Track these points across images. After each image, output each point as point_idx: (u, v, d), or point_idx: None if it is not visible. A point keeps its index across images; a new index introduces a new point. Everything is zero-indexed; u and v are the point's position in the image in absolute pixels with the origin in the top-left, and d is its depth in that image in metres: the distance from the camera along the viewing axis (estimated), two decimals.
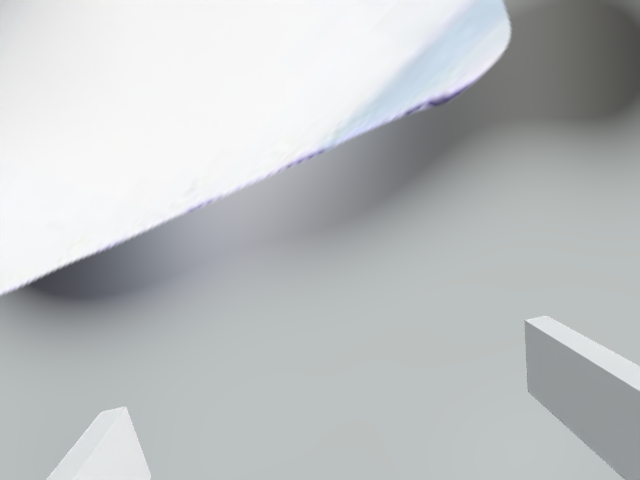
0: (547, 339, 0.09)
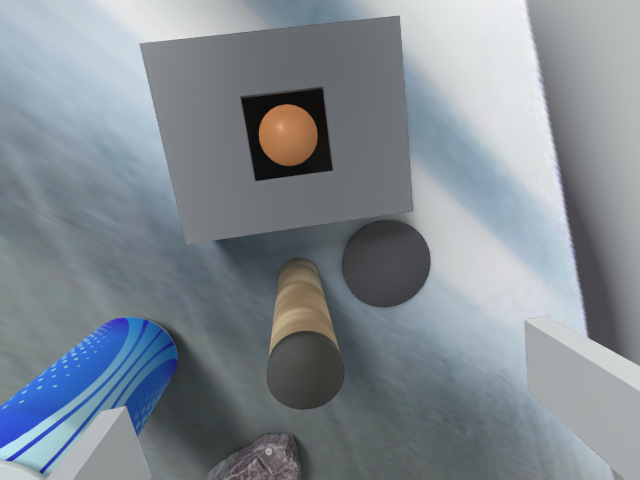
0: (547, 339, 0.09)
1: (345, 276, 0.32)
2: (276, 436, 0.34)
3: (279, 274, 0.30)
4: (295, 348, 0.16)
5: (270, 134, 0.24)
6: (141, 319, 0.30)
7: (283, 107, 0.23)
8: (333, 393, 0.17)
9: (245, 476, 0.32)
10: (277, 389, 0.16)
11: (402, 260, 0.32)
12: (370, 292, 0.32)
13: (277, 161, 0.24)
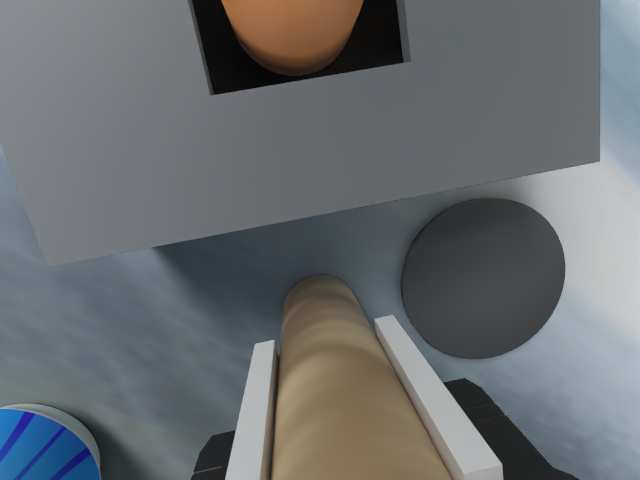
0: (381, 334, 0.11)
1: (409, 308, 0.17)
2: None
3: (283, 309, 0.15)
4: None
5: None
6: (18, 413, 0.15)
7: None
8: None
9: None
10: None
11: (514, 273, 0.17)
12: (455, 334, 0.17)
13: (267, 45, 0.09)
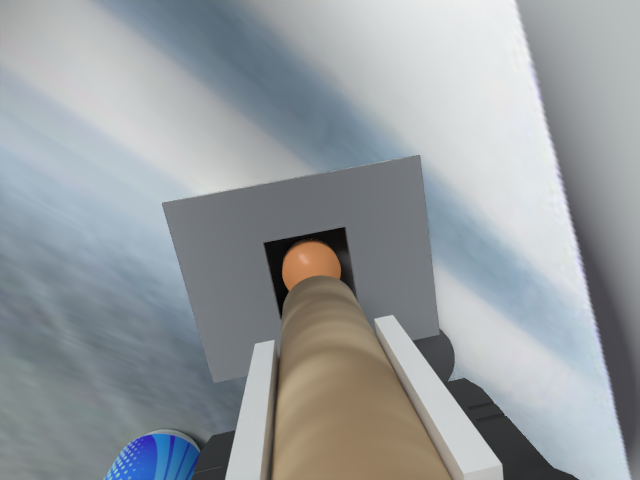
0: (381, 334, 0.11)
1: None
2: None
3: (283, 310, 0.15)
4: None
5: (294, 273, 0.23)
6: (168, 435, 0.30)
7: (305, 246, 0.23)
8: None
9: None
10: None
11: (426, 358, 0.32)
12: None
13: None
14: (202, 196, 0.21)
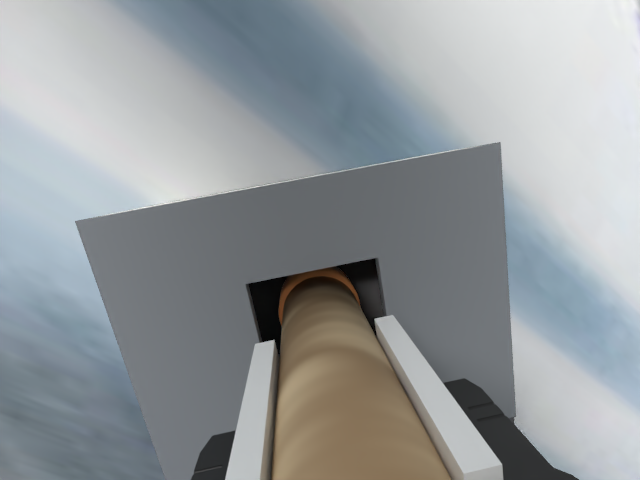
0: (381, 334, 0.11)
1: None
2: None
3: (284, 311, 0.15)
4: None
5: None
6: None
7: (311, 275, 0.16)
8: None
9: None
10: None
11: None
12: None
13: None
14: (143, 210, 0.13)
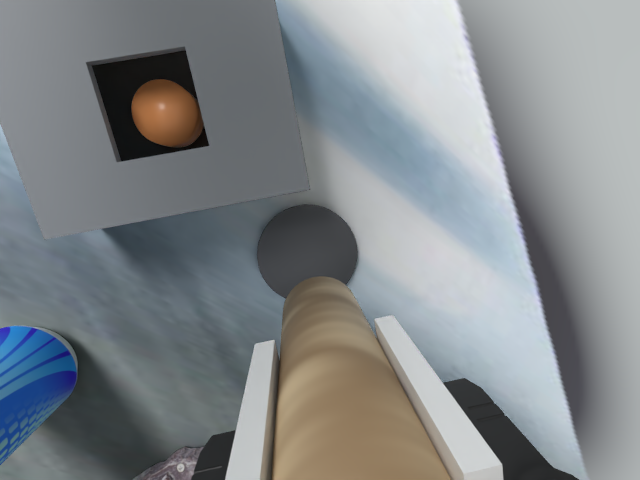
0: (381, 334, 0.11)
1: (261, 270, 0.28)
2: (193, 450, 0.31)
3: (284, 311, 0.16)
4: None
5: (144, 113, 0.22)
6: (28, 328, 0.26)
7: (155, 82, 0.22)
8: None
9: None
10: None
11: (324, 249, 0.28)
12: (291, 287, 0.29)
13: (155, 141, 0.22)
14: None
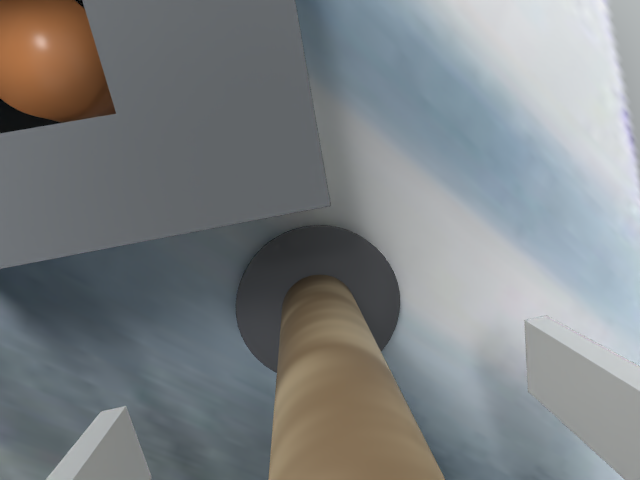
0: (547, 339, 0.09)
1: (242, 333, 0.17)
2: None
3: (282, 309, 0.16)
4: None
5: None
6: None
7: None
8: None
9: None
10: None
11: None
12: None
13: (25, 110, 0.11)
14: None
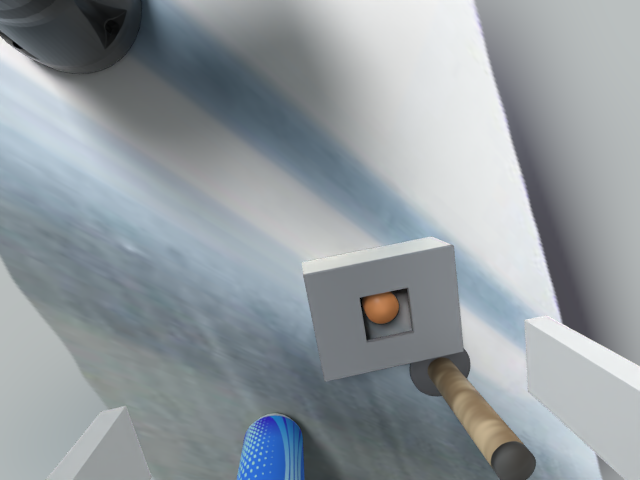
0: (547, 339, 0.09)
1: (412, 378, 0.46)
2: None
3: (431, 371, 0.45)
4: (512, 454, 0.30)
5: (371, 308, 0.40)
6: (280, 416, 0.45)
7: None
8: (529, 474, 0.31)
9: None
10: (501, 474, 0.31)
11: None
12: (429, 387, 0.47)
13: (375, 322, 0.41)
14: (326, 271, 0.36)
